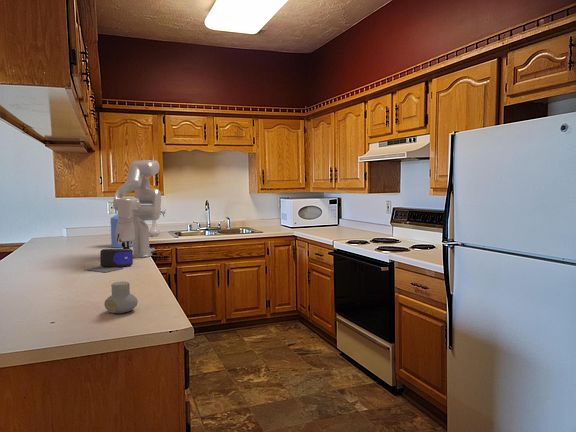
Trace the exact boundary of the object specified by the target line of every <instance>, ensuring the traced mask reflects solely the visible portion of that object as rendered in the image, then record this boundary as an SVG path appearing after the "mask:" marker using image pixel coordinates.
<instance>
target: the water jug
mask: <svg viewBox="0 0 576 432" xmlns="http://www.w3.org/2000/svg"><path fill="white" fill-rule="evenodd" d="M117 224H118V213H117V214H116V215H114V216H111V218H110V237H111V238H110V239H111V240H110V241H111V243H110V244H111V248H112V249H123V247H122V245H121V244H118V242H117V241H116V226H117ZM129 248H133V243H131V246H130V247H129Z"/></svg>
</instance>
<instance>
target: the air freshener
mask: <svg viewBox="0 0 576 432" xmlns="http://www.w3.org/2000/svg"><path fill="white" fill-rule="evenodd" d="M130 285H131V284H130V282H129V281H116V282H113V283H112V284H111V295H109V296H108V297H107V298H106V299H105V300H104V308H105V310H107V311H108V312H110V313H112V314H114V313H120V314H124V313H125V312H126V313H129V312H131V311H133V310H134V309H135V308H136V307H137V306H138V304H139V303H138V302H139V300H138V297H136V296H135V295H134V294H132V293H131V291H130V289H131V287H130Z"/></svg>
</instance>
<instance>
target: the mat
mask: <svg viewBox="0 0 576 432" xmlns="http://www.w3.org/2000/svg"><path fill="white" fill-rule="evenodd" d="M123 269H124V268H123V267H102V266H101V265H99V266H94V267H90V268H86V269H85V268H84V269H83V270H84V271H87V272H96V273H104V274H106V273H113V272H116V271H120V270H123Z"/></svg>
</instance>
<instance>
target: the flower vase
mask: <svg viewBox="0 0 576 432" xmlns="http://www.w3.org/2000/svg"><path fill="white" fill-rule="evenodd" d="M165 214H166V209H165V210H162V207H161V208H160V216H161V215H162V216H163V217H165ZM151 221H152V222H151V223H152V225H151V227H150V228H149V236H150V237H153V238H154V237H159V235H160V234H161V230H160V229H159V228H158V227H157V220H151Z"/></svg>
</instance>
